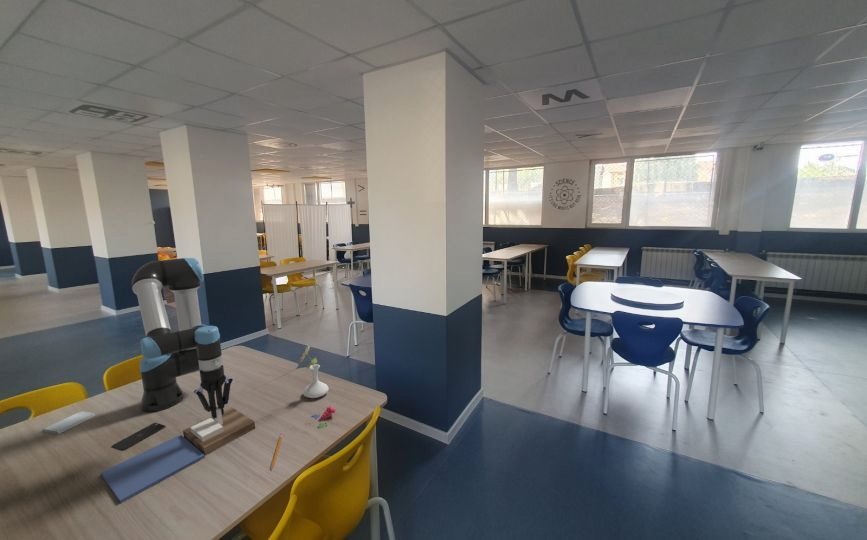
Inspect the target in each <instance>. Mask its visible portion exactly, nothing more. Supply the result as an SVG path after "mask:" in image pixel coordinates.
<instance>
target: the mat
mask: <svg viewBox="0 0 867 540" xmlns="http://www.w3.org/2000/svg"><path fill="white" fill-rule="evenodd" d="M205 458H206V455H204V454H203V453H202V452H201V451H199V450H198V449H197V448H196V447H195V446H194V445H192V444H191V443H190V442H189V441H188V440H187V439H185V438H184V435H182V434H179V435H177V436H175V437H173V438H171V439H168V440H166V441H164V442H162V443H160V444H158V445H156V446H153V447H151V448H149V449H148V450H145V451H143V452H140V453H139V454H136V455H135V456H132V457H130V458H128V459H125V460H124V461H122V462H119V463H118V464H117V463H116V465H112V466H111V467H108V468H107V469H105V470H102V471H101V472H100V474H101V476H102V478H103V479H104V481H105V483H107V485H108V487H109V488H110V489H111V491H112V493H113V494H114V495H115V496H116V497H115V498H116V499H117V500H118V501H119V503H120V504H122V503H124V502H126V501H127V500H129V499H130V500H131V499H132V498H134V497H135V496H137V495H139V494H140V493H143V492H144V491H146V490H148V489H150V488H151V487H154V486H155V485H157V484H159V483H161V482H162V481H165V480H166V479H168V478H170V477H171V476H173V475H176V474H178V473H179V472H181V471H183V470H184V469H187V468H189V467H190V466H192V465H193V464H195V463H198V462H199V461H202V460H204V459H205Z"/></svg>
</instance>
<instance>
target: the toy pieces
mask: <svg viewBox="0 0 867 540" xmlns="http://www.w3.org/2000/svg"><path fill="white" fill-rule="evenodd" d="M336 412H337V409H335V408H334V407H332V406H328V407H326V410H325V411H324V412H323V413H322V414H321V415H322V416H321V417H320V413H318V414H319V415H316V414H313V415H314V416H313V415H312V416H313V418H315V419H317V418H319V417H320V419H318V420H317V422H319V423H320V424H319V428H323V427H324V426H325V425H327V424H328V423H327V424H325V423H326V422H320V420H321V421H324V420H326V418H327V419H328V418H332V416H333V414H335V413H336ZM305 423H306V422H305ZM305 423H304V424H305ZM311 423H312V422H311ZM311 423H308V424H310V425H311ZM306 424H307V423H306ZM306 424H305V425H304V426H307V425H308V424H307V425H306ZM327 426H328V425H327ZM319 428H318V429H319ZM323 429H324V428H323Z"/></svg>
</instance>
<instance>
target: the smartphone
mask: <svg viewBox="0 0 867 540" xmlns="http://www.w3.org/2000/svg"><path fill="white" fill-rule="evenodd" d="M166 427H167V426H166V425H165V424H161V423H158V422H153V423H151V424H149V425H147V426H145V427H144V428H141V429H140V430H138V431H136V432H134V433H132V434H131V435H129V436H126V437H124V438H123V439H121V440H119V441H117V442H116V443H114V444H112V445H111V448H113V449H115V450H118V451H121V452H122V451H124V452H125V451H127V450H129V449H130V448H132V447H133V446H135V445H137V444H139V443H141V442H143V441H144V440H146V439H148V438H149V437H151V436H153V435H155V434H157V433H158V432H161V431H162V430H164V429H165V428H166Z"/></svg>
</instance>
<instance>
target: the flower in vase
mask: <svg viewBox="0 0 867 540" xmlns="http://www.w3.org/2000/svg"><path fill="white" fill-rule="evenodd" d="M310 349H311V346H309V345H308V346H307V347H305V350H304V352H303V353H302V356H301V357H300V358H299V362H303V360H304V359H305V358H306V357H308V359H309V360H310V363H309V364H308V365H307V367H306V370H308V369H309V370H310V372H311V375H312V381H311V383H309V384H308V385H307V386H306V387H305V388H304V389H303V392H302V394H303V396H304V397H306V398H308V399H316V398H320V397H324V396H325V395H326V394H327V393H328V392H329V389H330V388H329V386H328V385H327V384H326V383H324V382H322V381H320V380H319V378H318V373H319V369H320V367H321V365H320V364H318V359H317V357H316V356H315V357H314V358H313V359H311V357H310V356H309V354H308V353H309V351H310Z"/></svg>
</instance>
